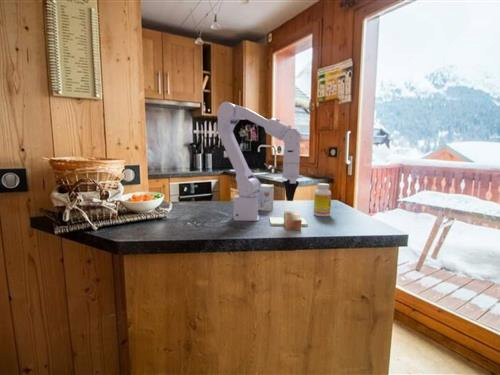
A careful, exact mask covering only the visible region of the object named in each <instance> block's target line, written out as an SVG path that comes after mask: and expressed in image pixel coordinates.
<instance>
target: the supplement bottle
mask: <svg viewBox="0 0 500 375" xmlns="http://www.w3.org/2000/svg"><path fill="white" fill-rule="evenodd" d="M329 188H330V184H329V183H322V182H321V183H320V182H319V183H317V189H316V190H314V193H313V194H314V198H313V215H314V216H317V217H329V216H330V215H331V205H332V204H331V203H332V192H331V190H329Z"/></svg>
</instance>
